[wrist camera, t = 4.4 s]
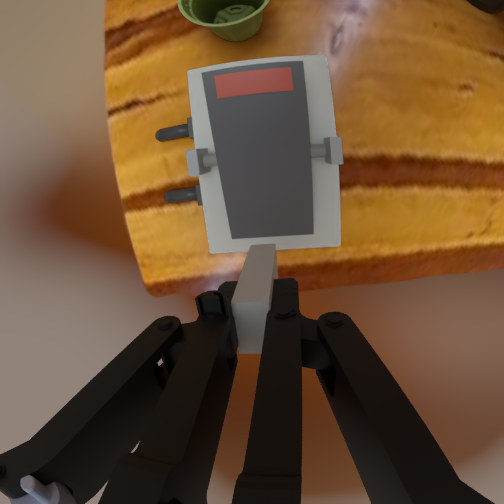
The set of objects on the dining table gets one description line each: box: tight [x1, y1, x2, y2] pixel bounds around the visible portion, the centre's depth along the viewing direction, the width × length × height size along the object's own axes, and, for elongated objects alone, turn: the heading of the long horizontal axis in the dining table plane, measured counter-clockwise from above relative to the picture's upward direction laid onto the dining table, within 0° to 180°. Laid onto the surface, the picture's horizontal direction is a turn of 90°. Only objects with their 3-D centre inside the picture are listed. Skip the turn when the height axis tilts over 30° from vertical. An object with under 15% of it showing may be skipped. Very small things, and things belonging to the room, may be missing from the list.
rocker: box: [201, 61, 326, 239], centre depth 23 cm, size 11×16×2 cm, turn 6°
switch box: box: [155, 55, 343, 254], centre depth 27 cm, size 21×20×10 cm
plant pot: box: [178, 0, 270, 41], centre depth 21 cm, size 9×9×9 cm
